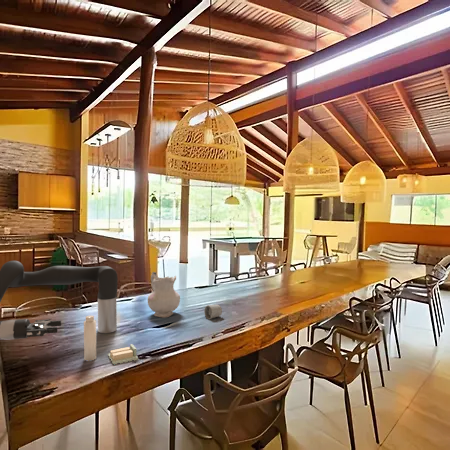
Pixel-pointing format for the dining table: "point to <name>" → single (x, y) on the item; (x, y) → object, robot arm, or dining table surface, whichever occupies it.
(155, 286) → the ceramic pitcher
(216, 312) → the ceramic mug
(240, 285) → the dining table surface
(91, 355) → the white bottle
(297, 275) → the dining table surface
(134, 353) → the display stand
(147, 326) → the dining table surface
